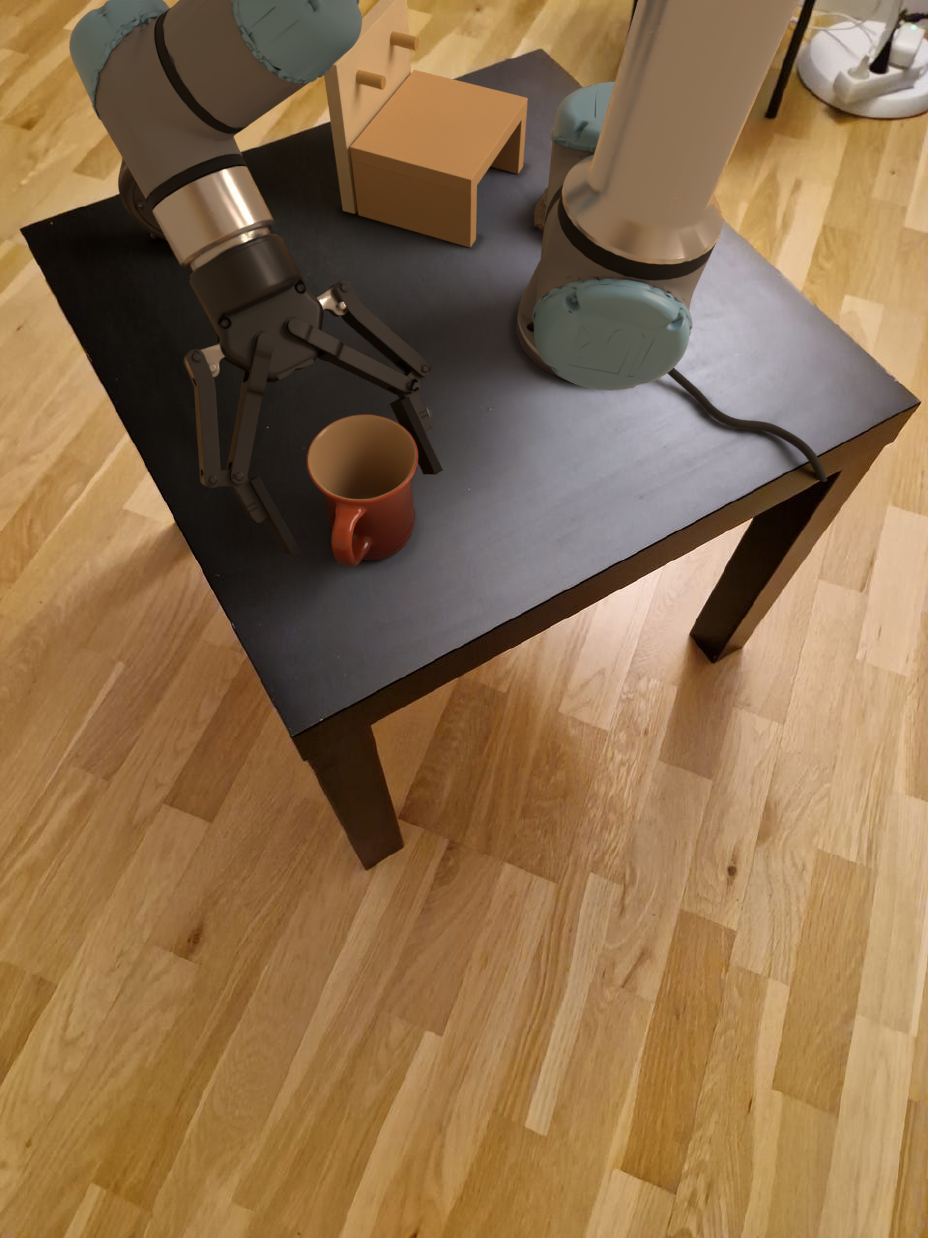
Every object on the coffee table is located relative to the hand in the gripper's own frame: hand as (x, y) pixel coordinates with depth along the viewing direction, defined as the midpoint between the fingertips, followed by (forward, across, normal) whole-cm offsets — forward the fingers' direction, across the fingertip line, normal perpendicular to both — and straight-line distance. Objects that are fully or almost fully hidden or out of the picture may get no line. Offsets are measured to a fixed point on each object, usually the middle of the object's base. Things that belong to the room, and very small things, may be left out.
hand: (365, 511), depth 67 cm
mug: (+4, 0, -5) cm, 6 cm away
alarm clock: (-28, -6, -37) cm, 47 cm away
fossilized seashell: (-12, -44, -20) cm, 50 cm away
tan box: (-23, -34, -31) cm, 51 cm away
